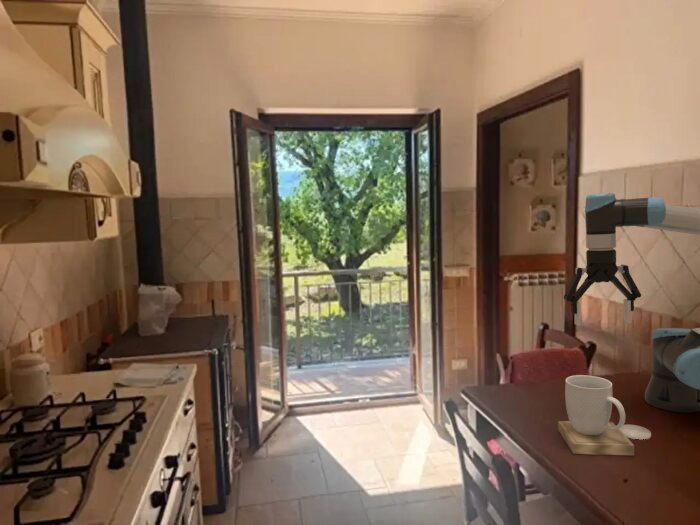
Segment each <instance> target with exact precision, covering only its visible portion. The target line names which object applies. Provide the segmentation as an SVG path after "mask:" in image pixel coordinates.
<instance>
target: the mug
mask: <svg viewBox="0 0 700 525" xmlns="http://www.w3.org/2000/svg"><path fill="white" fill-rule="evenodd" d="M564 389H565V392H564V396H565V398H564V399H565V408H566V409H565V410H566V413H567V418H568V421H570V423H571V425H572V426H573V428H574V429H575V430H576V431H577V432H579V433H581V434H584V435H591V436H595V435H600V434H602V433H603V432H604V430H618V429H620V428H621V427H622V426H623V425H625V423H626V412H625V408H624V406H623V404H622V403H621V401H620V400H618V399H617V398H615V397H613V394H614V393H613V383H612V382H611V381H610V380H608V379H606V378H603V377H600V376H595V375H586V374H585V375H583V374H575V375H571V376H568V377H566V378H565V387H564ZM613 404H614V405H615V407H616V408H617V410H618V414H619V421H618V423H617V425H616V426H608V423H609V422H610V420H611V415H612V410H613Z"/></svg>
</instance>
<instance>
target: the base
mask: <svg viewBox="0 0 700 525" xmlns="http://www.w3.org/2000/svg"><path fill="white" fill-rule="evenodd" d="M608 426H617V425H616V424H615V423H614V422H613V421H609V423H608ZM557 429H558V430H557V431H558V432H559V433H560V435H561V437H562V438H563V440H564V441H565V443H566V445H567V446H568V448H569V450H570V451H571V453H572V454H573V455H597V456H598V455H599V456H604V455H605V456H607V455H608V456H635V445H634V443H633V442H632V441H631V439H630V438H627V437H626V436H625V435H624V434H623V433H622V432H621V431H620V430H619V429H618V430H604V432H603V433H602V434H600V435H595V436H591V435H584V434H581V433H579V432H577V431H576V430H575V429H574V428H573V426H572V425H571V423H570V420H568V421H567V420H566V421H565V420H564V421H563V420H559V421H558V422H557Z"/></svg>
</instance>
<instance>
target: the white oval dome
mask: <svg viewBox="0 0 700 525" xmlns="http://www.w3.org/2000/svg"><path fill="white" fill-rule="evenodd" d="M619 430H620V431H621V432H622V433H623V434H624V435H625V436H626V437H627V438H628V439H630V438H631V439H630V440H635V439H639V440H640V441H646V440H650V438H651V437H652V432H651V430H649V429H648V428H646V427H644V426H640V425H636V424H625V423H624V425H623V426H622V427H621V428H620V429H619ZM643 439H644V440H643ZM645 439H646V440H645ZM639 440H638V441H639Z"/></svg>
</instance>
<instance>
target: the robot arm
mask: <svg viewBox="0 0 700 525" xmlns="http://www.w3.org/2000/svg"><path fill="white" fill-rule="evenodd" d="M584 214H585V248H586V249H587V250H586V252H585V255H586V261H585V262H586V266H585V267H578V266H575V267H574V274H573V276H572V279H571V281H570V282H569V284H568V287H567V289H566V291H565V293H564V295H563V300H565V301H567V302H569V303H570V313H571V314H573V316H574V325H576V326H577V327H580V326H582V323H581V317H582V316H581V314H582V313H581V302H579V300H580V299H582V296H584V294H585V293H586V292H587V291H588V289H589V288H590V287H591V286H592V285H593V284H594V283H597V284H599V283H609V282H611V283H612V284H613V285H614V286H615V288H617V290H618V291H619V292H620V293H621V294H622V295H623V296H624V297H625V298H624V299H622V302H623V322H624V323H626V324H628V325H630V324H632V312H634V310H635V303H634V302H635V301H636V300H637V299H638V298H641V297H642V294H641V292H640V290H639V288H638V287H637V284H636V283H635V280H634V279H633V277H632V275H631V273H630V267H629V265H626V264H621V265H617V250H616V249H614V248H616V247H617V234H616V233H617V231H616V230H617V228H620V227H637V228H638V227H639V228H640V227H641V228H648V229H653V230H654V229H655V230H663V231H667V232H675V233H683V234H688V235H696V236H700V208H698V207H689V206H681V205H673V204H666V203H665V201H664V199H663V198H661V197H659V196H658V197H651V196H649V197H640V198H637V197H636V198H627V199H626V198H621V199H620V198H619V199H617V197H616V194H615V193H613V192H607V193H605V192H604V193H591V194H588V195H587V196H586V198H585V208H584ZM617 273H619V274H621V276H622V278H623V280H624V281H625V284H626V285H627V287H626V286H625V285H624V284H623V283H622V282H621V280H620V279H619V278H618V277H617V276H616V274H617ZM584 274H586V275H587V276H586V277H585V279H584V281H583V283H582V284H581V285H580V286H579V287H578V285H579V283H580V281H581V278H582V276H584ZM577 287H578V288H577ZM627 288H628V289H629V290H628V289H627ZM651 341H652V344H651V345H652V347H651V348H652V349H651V350H652V351H651V354H652V355H651V377H650V380H649V381H648V385H647V387H646V389H645V392H644V401H645V402H646V403H647V404H648V405H650V406H652V407H654V408H658V409H660V410H663V411H669V412H676V413H687V414H689V413H698V412H700V327H697V328H682V327H680V328H679V327H678V328H677V327H660V328H656V329H654V330H653V331H652V338H651Z"/></svg>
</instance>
